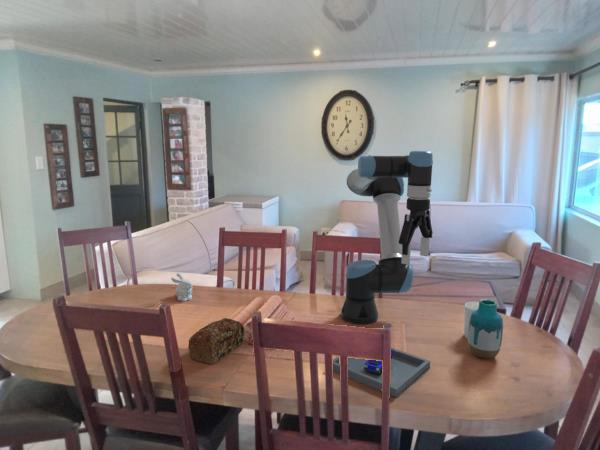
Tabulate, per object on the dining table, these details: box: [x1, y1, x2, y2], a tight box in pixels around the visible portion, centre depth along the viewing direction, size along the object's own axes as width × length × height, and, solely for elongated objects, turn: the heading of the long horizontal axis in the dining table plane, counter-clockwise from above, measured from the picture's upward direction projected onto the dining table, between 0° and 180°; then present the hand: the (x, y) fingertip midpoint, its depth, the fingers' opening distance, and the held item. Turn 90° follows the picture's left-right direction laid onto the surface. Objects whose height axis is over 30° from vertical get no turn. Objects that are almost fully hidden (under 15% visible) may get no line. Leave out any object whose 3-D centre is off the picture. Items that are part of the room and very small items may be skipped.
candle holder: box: [463, 301, 479, 339], centre depth 165 cm, size 10×10×12 cm
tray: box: [332, 347, 431, 398], centre depth 142 cm, size 24×22×2 cm
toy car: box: [364, 352, 393, 375], centre depth 142 cm, size 7×12×5 cm, turn 150°
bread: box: [187, 317, 245, 365], centre depth 153 cm, size 19×11×10 cm, turn 152°
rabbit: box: [171, 273, 193, 302], centre depth 203 cm, size 12×9×12 cm
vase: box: [467, 299, 504, 359], centre depth 150 cm, size 11×11×19 cm
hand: (415, 259), depth 152 cm, fingers open, 13 cm apart
